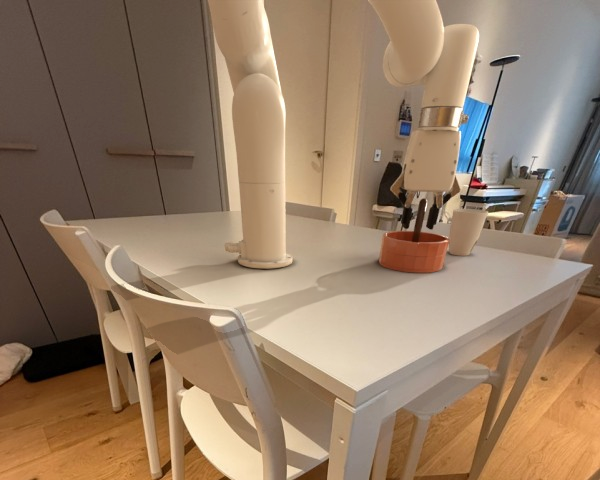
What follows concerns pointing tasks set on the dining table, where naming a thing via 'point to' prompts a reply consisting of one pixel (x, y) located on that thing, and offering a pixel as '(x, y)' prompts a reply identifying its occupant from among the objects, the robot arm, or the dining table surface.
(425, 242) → the bowl
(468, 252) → the cup
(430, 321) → the dining table surface
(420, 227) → the brown peg stand
